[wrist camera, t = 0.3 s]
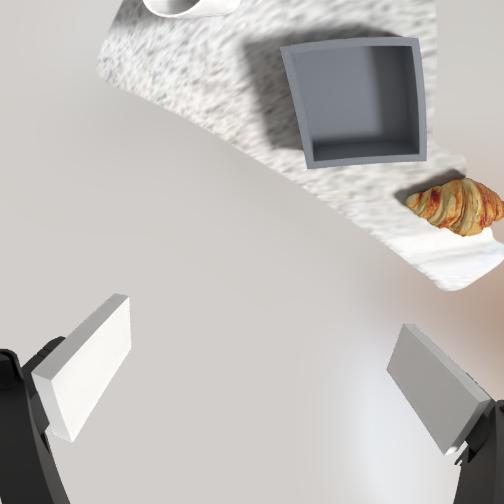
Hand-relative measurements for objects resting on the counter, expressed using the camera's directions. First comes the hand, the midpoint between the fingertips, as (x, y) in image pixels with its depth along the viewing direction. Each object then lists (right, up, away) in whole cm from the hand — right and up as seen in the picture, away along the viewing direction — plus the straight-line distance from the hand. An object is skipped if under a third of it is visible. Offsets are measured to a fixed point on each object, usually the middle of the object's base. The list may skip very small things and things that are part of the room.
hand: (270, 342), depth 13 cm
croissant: (+34, +13, +27) cm, 45 cm away
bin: (+13, +25, +20) cm, 35 cm away
